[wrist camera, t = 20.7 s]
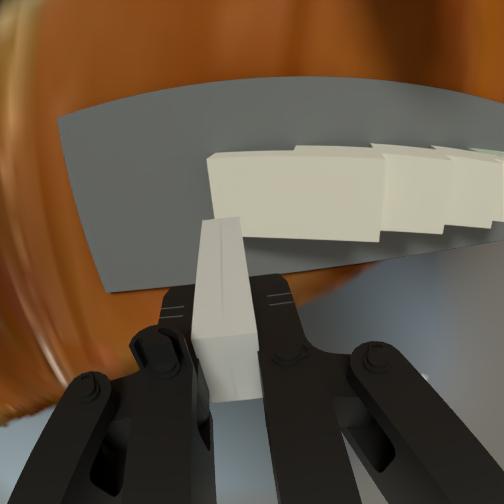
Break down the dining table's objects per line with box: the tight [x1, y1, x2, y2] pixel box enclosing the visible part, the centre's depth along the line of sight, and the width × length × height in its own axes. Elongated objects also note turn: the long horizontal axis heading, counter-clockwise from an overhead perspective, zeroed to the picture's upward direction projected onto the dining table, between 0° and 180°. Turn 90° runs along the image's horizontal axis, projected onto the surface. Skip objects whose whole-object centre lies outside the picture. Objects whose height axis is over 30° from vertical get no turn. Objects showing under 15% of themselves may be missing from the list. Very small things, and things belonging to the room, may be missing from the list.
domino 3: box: [370, 143, 503, 229], centre depth 18 cm, size 2×5×10 cm
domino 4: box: [430, 145, 504, 222], centre depth 18 cm, size 2×5×10 cm
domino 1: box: [206, 150, 386, 242], centre depth 18 cm, size 2×5×10 cm
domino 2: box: [294, 145, 454, 234], centre depth 18 cm, size 2×5×10 cm
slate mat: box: [57, 76, 504, 293], centre depth 20 cm, size 42×14×1 cm, turn 95°
